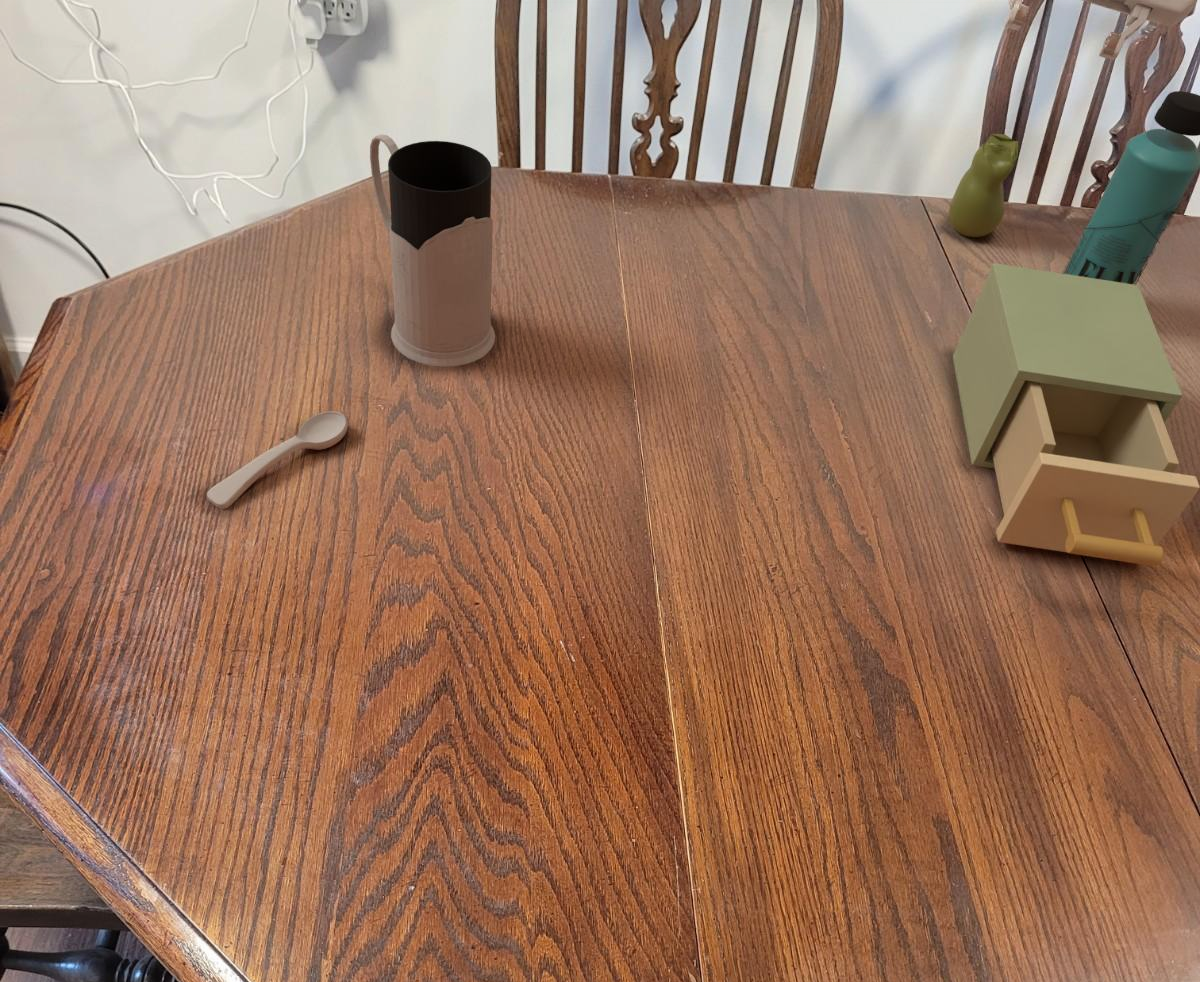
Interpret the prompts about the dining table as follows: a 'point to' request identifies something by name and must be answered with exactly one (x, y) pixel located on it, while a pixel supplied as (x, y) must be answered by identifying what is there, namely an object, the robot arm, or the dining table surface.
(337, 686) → the dining table surface
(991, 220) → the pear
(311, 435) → the spoon
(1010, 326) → the cabinet
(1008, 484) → the drawer
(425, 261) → the glass holder
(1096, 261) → the beverage bottle
